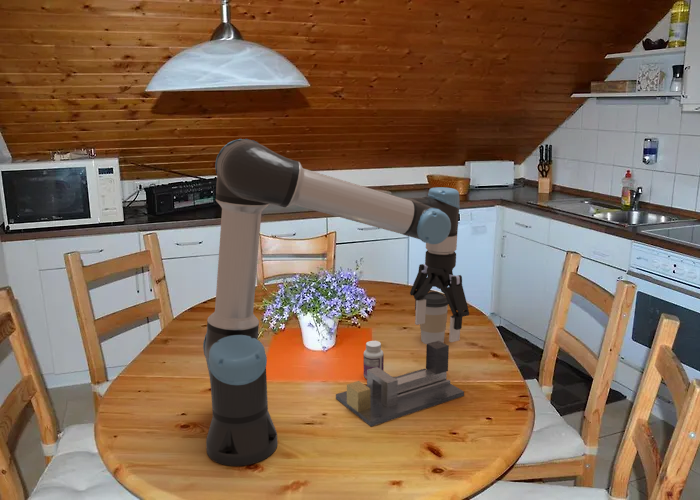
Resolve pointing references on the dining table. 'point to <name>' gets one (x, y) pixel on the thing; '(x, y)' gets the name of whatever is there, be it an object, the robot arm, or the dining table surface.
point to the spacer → (358, 396)
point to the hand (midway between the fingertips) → (436, 332)
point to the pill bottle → (373, 356)
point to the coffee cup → (434, 318)
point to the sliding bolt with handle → (428, 369)
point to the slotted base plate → (399, 397)
